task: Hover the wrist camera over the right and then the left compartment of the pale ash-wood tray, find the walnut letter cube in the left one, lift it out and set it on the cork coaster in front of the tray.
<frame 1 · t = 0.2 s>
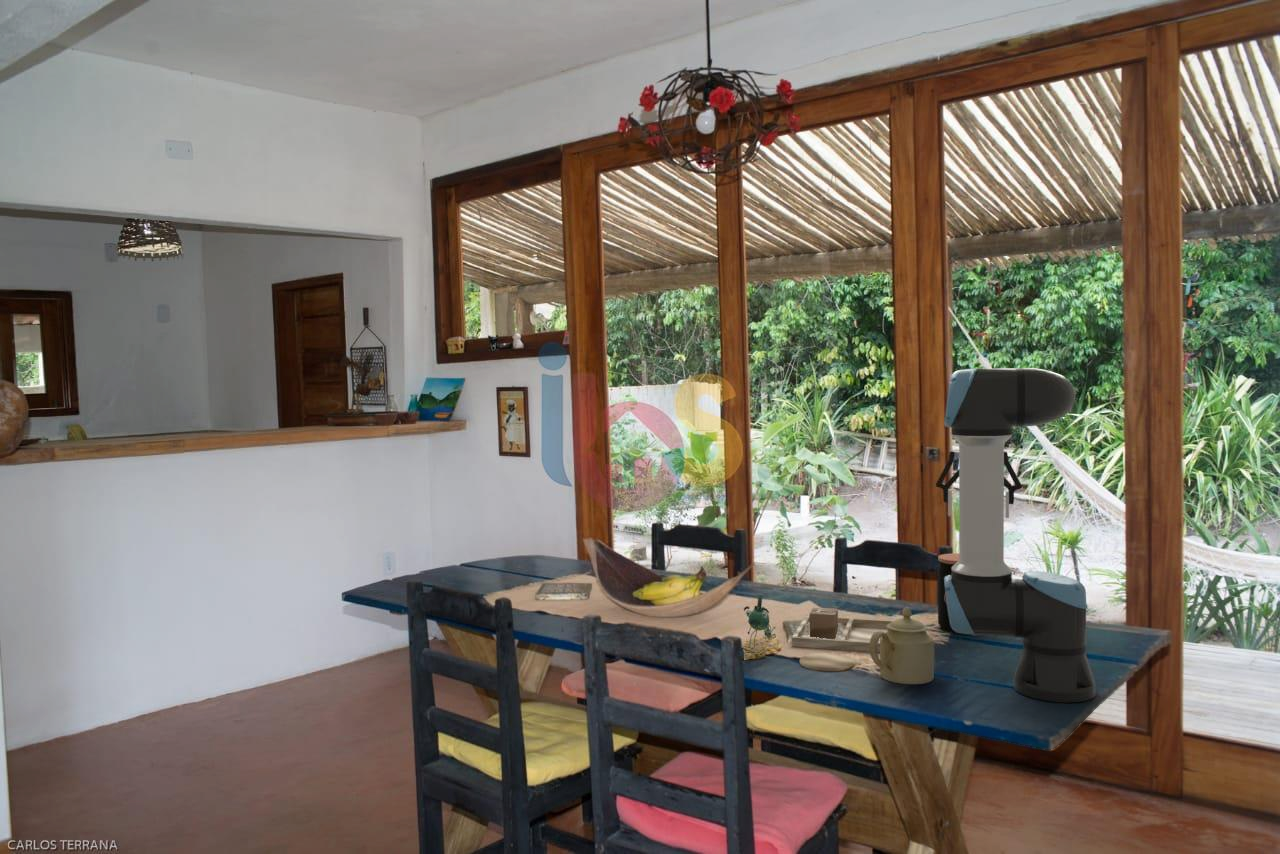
hand: (978, 516, 245), 28 cm above the table, fingers open, 13 cm apart
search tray: (846, 639, 236), on the table
coffee jar: (960, 629, 244), on the table
letter cube: (824, 635, 238), resting on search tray
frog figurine: (761, 652, 227), on the table
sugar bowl: (904, 680, 205), on the table
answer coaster: (827, 663, 217), on the table
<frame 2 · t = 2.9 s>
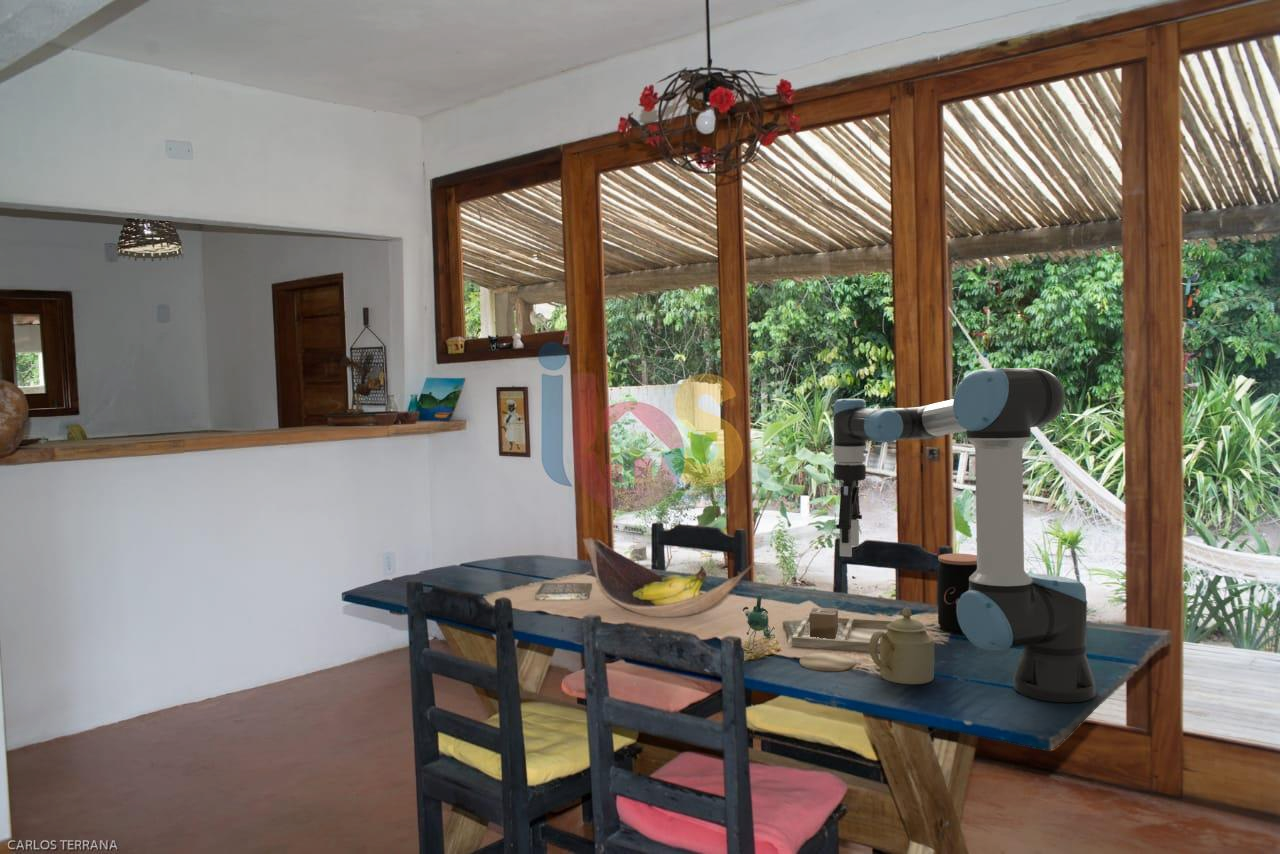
hand: (849, 551, 235), 21 cm above the table, fingers open, 13 cm apart
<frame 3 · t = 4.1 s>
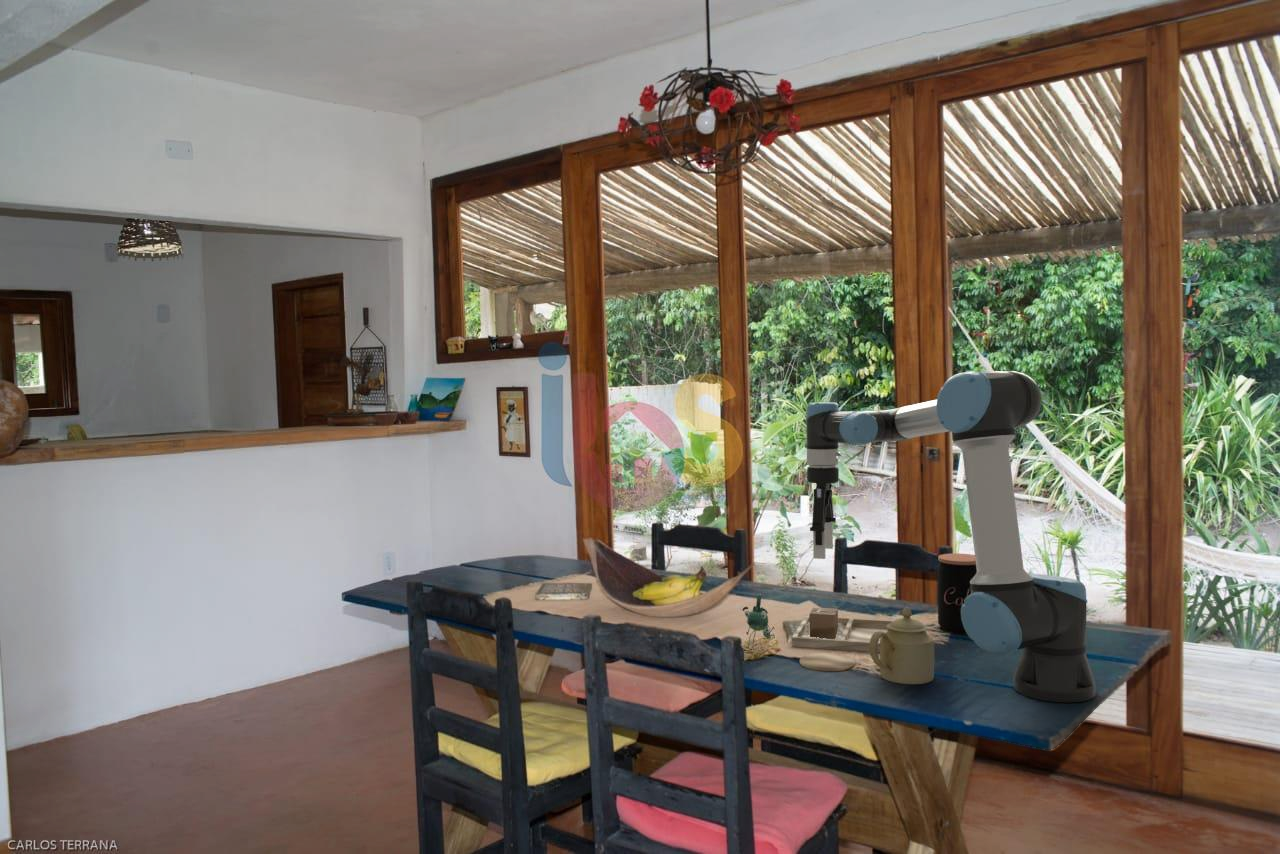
hand: (823, 553, 237), 21 cm above the table, fingers open, 13 cm apart
nothing on the table moved.
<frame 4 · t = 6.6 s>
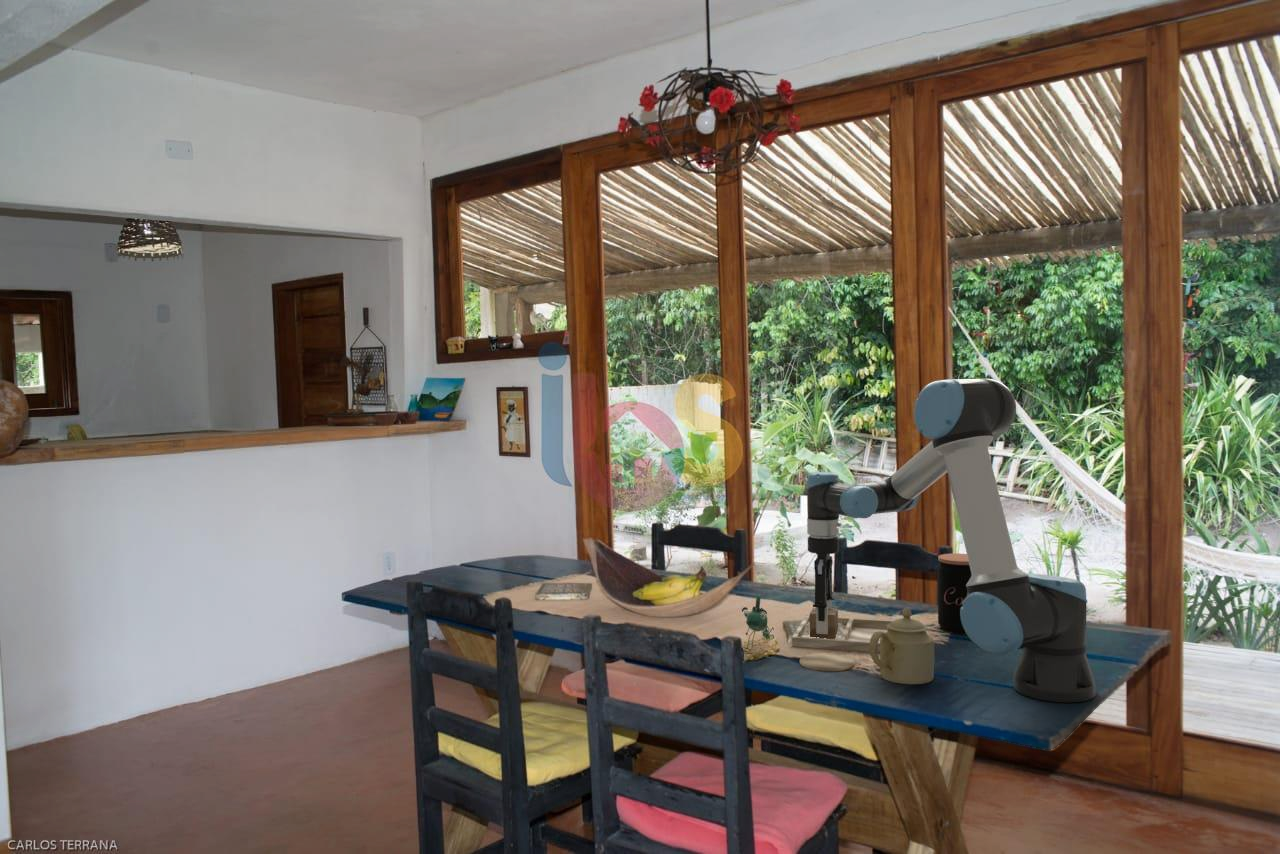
hand: (824, 629, 238), 2 cm above the table, fingers closed on letter cube, 6 cm apart
letter cube: (824, 635, 238), point 1 cm above the table, touching gripper, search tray
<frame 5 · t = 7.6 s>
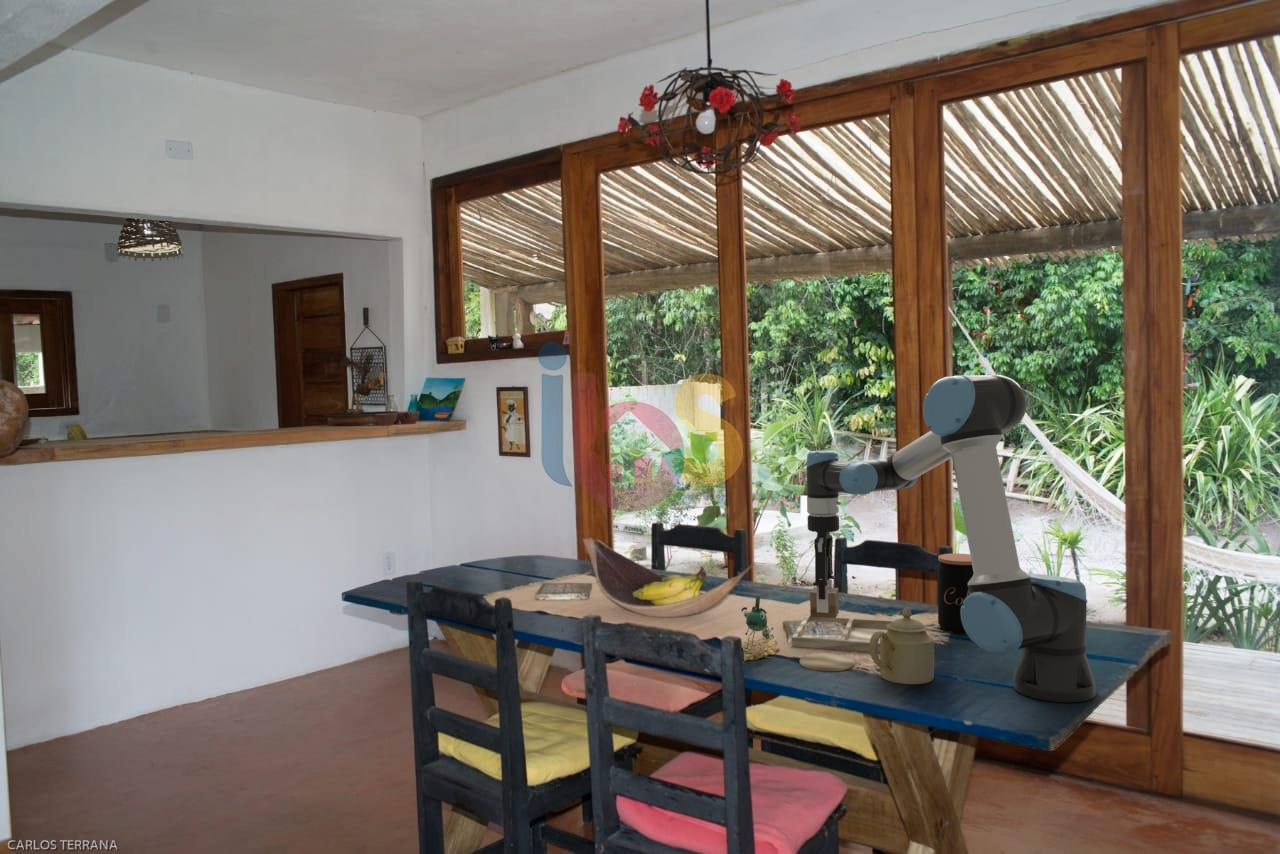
hand: (824, 608, 237), 7 cm above the table, fingers closed on letter cube, 6 cm apart
letter cube: (824, 614, 237), point 6 cm above the table, touching gripper
everything else where it was.
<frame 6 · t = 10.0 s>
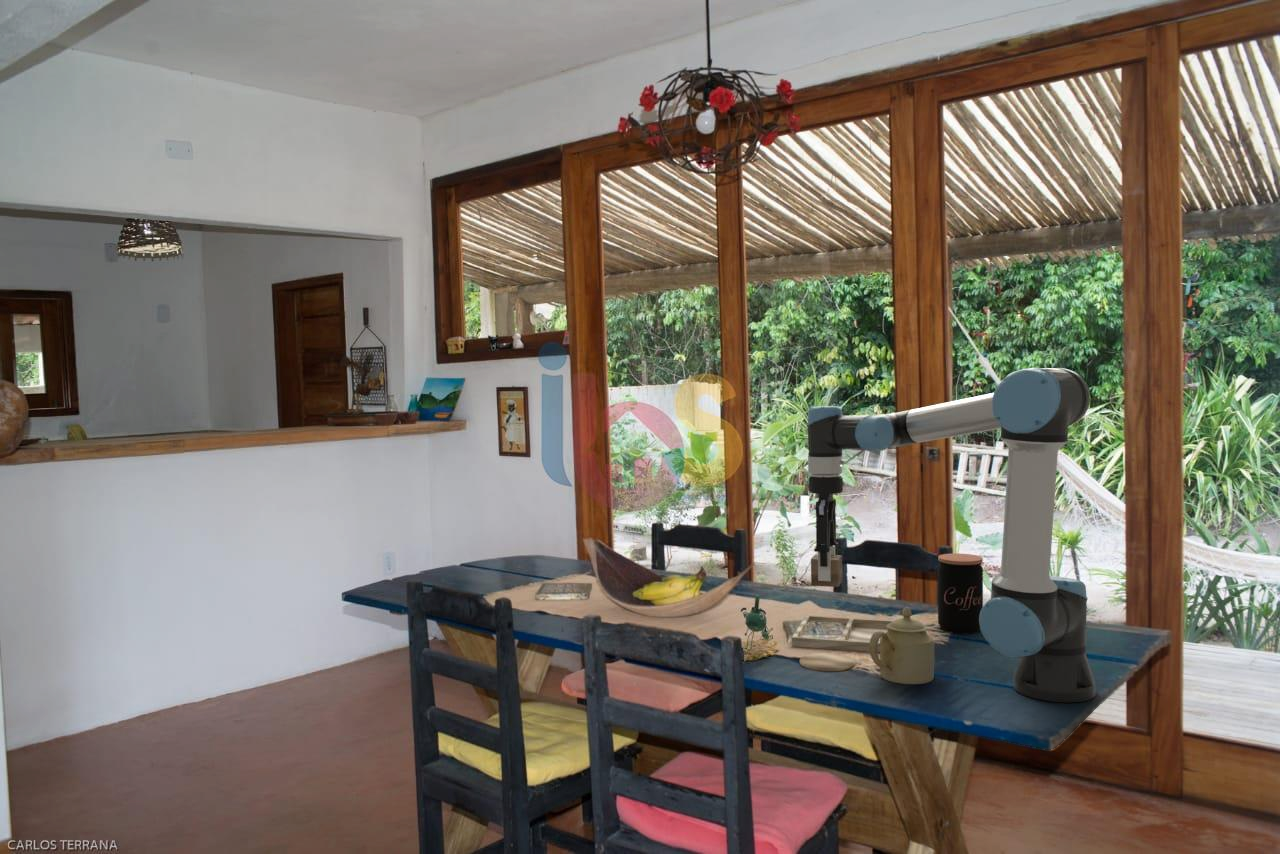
hand: (826, 577, 219), 19 cm above the table, fingers closed on letter cube, 6 cm apart
letter cube: (826, 583, 219), point 17 cm above the table, touching gripper
when the fingers open (3 cm above the table, at t = 13.6 s): letter cube drops 1 cm, resting on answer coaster.
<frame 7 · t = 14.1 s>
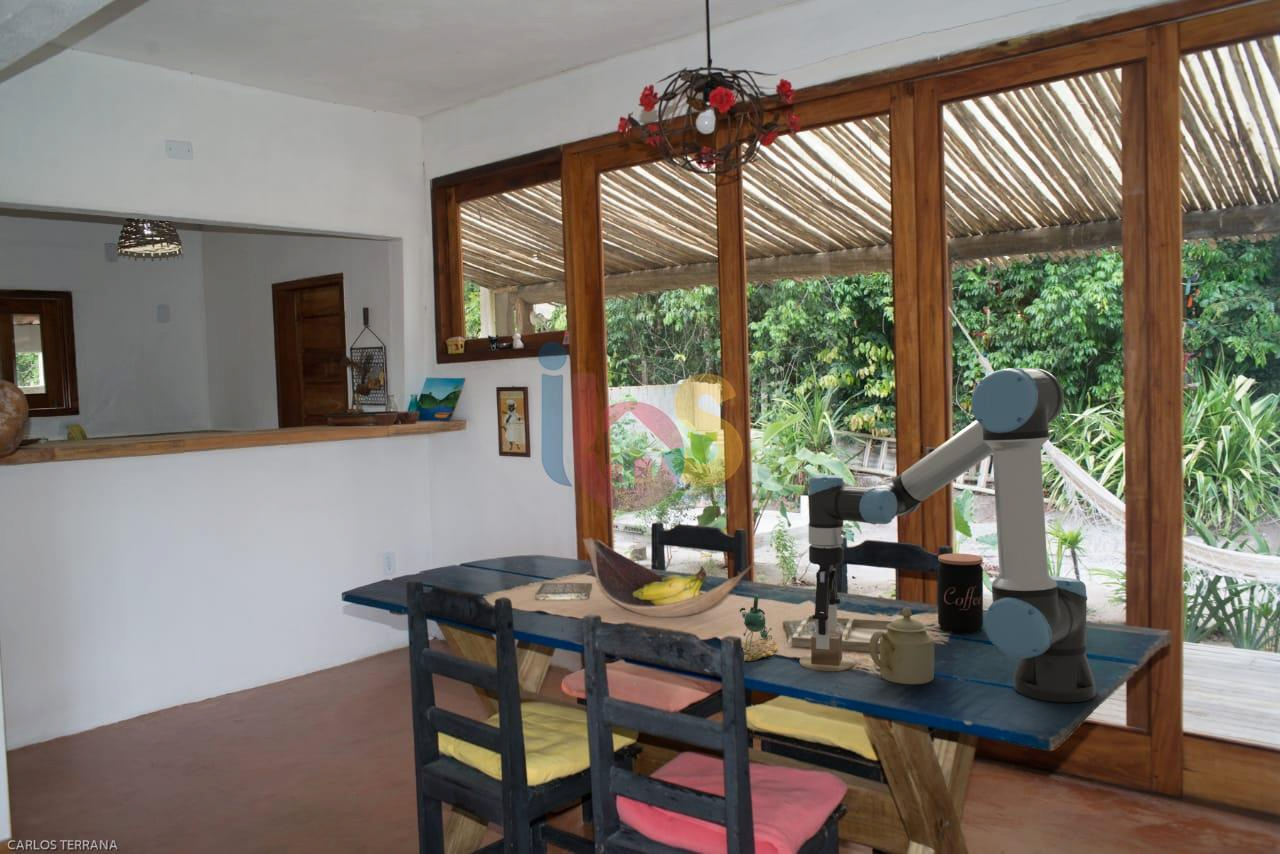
hand: (826, 640, 216), 5 cm above the table, fingers open, 13 cm apart
letter cube: (826, 661, 217), resting on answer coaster
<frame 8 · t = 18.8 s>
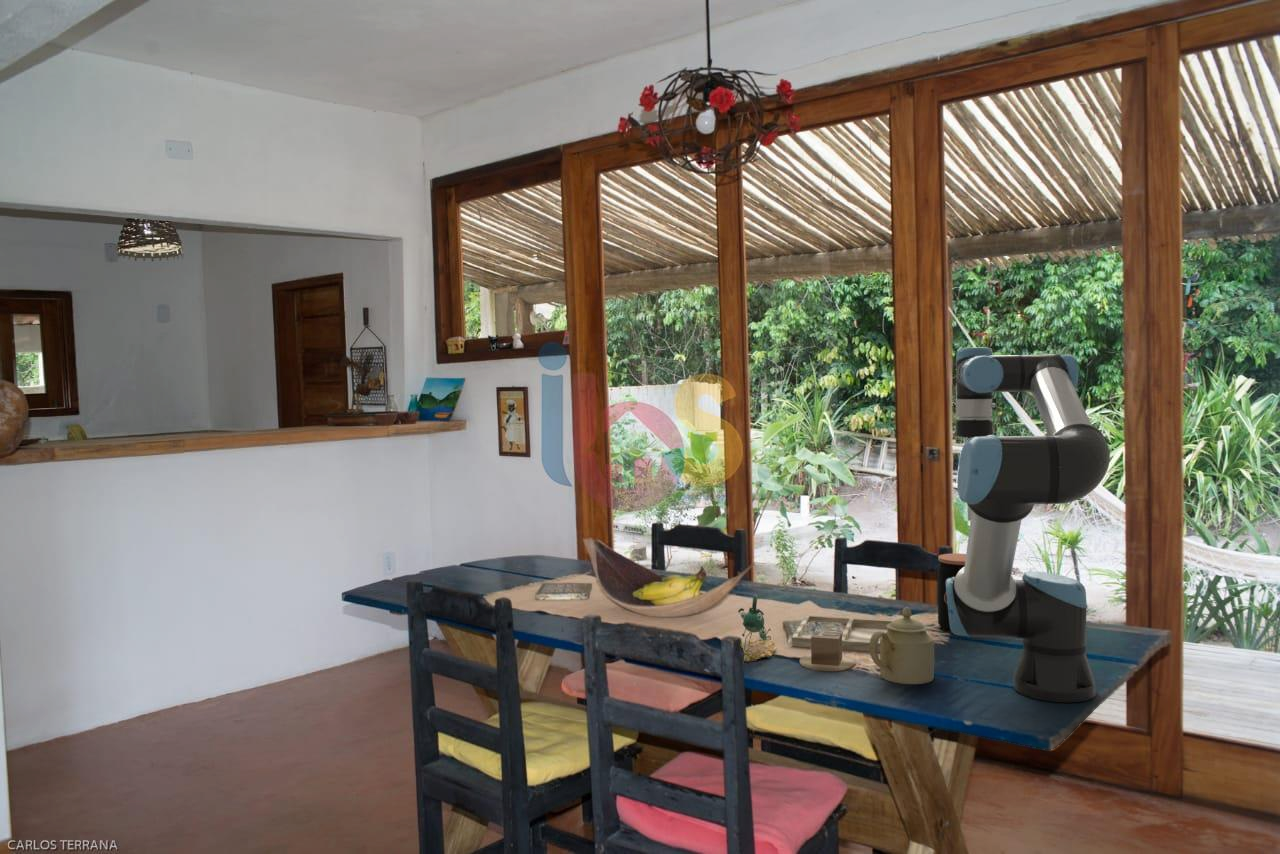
hand: (974, 516, 213), 33 cm above the table, fingers open, 13 cm apart
at the end: letter cube inside the target area on the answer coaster (0.0 cm from its centre), point 0.5 cm above the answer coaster's base; letter cube tilted 0°; the gripper is holding nothing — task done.
